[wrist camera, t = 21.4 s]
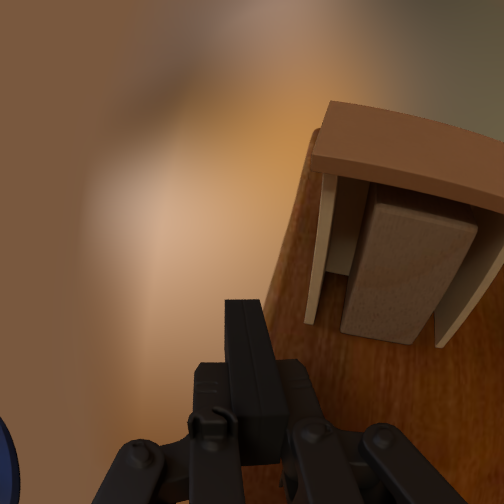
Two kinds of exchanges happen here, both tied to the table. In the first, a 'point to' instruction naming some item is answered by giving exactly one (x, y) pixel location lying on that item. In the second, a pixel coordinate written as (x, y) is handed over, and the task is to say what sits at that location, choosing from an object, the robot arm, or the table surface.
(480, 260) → the desk
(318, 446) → the robot arm
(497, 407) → the table surface
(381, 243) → the wooden block
